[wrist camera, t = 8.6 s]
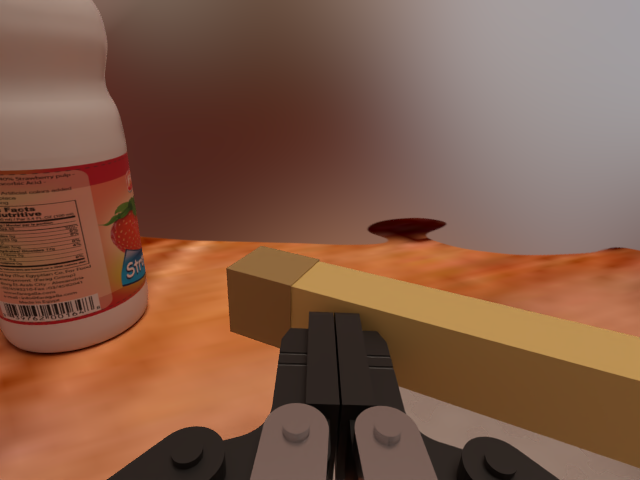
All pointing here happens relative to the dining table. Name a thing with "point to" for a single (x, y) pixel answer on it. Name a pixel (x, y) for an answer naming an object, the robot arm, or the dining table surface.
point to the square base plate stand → (510, 440)
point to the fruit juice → (63, 184)
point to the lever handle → (460, 348)
